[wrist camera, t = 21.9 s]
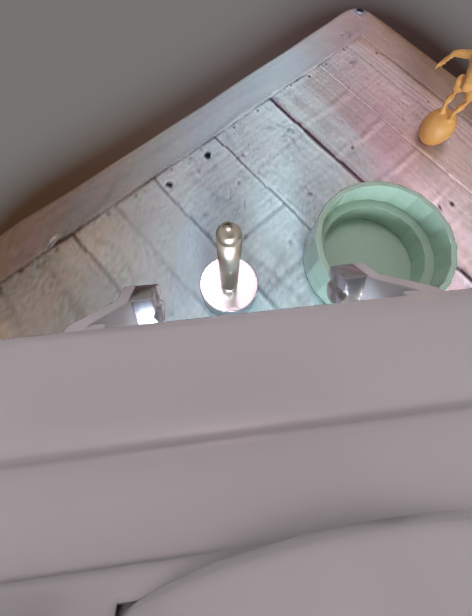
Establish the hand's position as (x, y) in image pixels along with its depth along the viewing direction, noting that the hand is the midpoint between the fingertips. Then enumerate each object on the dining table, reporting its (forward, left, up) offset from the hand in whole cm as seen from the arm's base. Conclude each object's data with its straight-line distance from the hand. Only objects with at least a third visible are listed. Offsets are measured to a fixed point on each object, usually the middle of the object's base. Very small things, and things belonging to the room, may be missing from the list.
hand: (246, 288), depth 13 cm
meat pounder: (0, -5, -17) cm, 17 cm away
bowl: (-16, -7, -17) cm, 24 cm away
